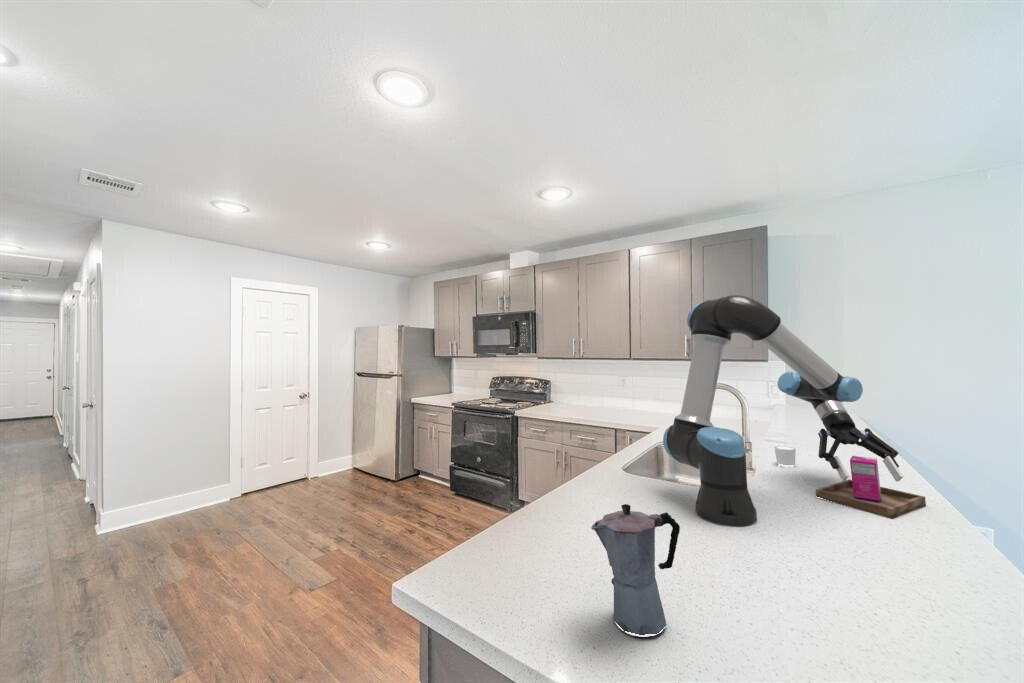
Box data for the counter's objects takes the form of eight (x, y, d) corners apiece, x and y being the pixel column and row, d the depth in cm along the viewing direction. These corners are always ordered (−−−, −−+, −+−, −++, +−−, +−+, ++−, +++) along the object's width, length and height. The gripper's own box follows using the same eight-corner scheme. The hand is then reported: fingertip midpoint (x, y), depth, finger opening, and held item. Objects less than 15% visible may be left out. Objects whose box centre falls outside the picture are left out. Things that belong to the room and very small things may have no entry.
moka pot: (589, 607, 72) (583, 497, 73) (669, 599, 73) (663, 491, 74) (606, 645, 62) (599, 518, 63) (698, 635, 64) (690, 511, 64)
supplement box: (855, 493, 118) (852, 455, 119) (881, 497, 114) (878, 458, 114) (852, 498, 114) (849, 459, 115) (880, 503, 110) (876, 462, 110)
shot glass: (800, 468, 147) (799, 450, 148) (780, 468, 149) (779, 449, 149) (791, 463, 154) (790, 445, 154) (772, 463, 156) (771, 445, 156)
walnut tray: (892, 518, 102) (891, 509, 102) (816, 497, 119) (815, 489, 119) (925, 505, 109) (925, 496, 110) (849, 487, 126) (848, 479, 126)
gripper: (873, 424, 128) (916, 485, 112) (789, 425, 132) (819, 484, 117) (884, 410, 123) (930, 472, 107) (796, 411, 127) (828, 471, 112)
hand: (872, 478), depth 112 cm, fingers open, 13 cm apart
